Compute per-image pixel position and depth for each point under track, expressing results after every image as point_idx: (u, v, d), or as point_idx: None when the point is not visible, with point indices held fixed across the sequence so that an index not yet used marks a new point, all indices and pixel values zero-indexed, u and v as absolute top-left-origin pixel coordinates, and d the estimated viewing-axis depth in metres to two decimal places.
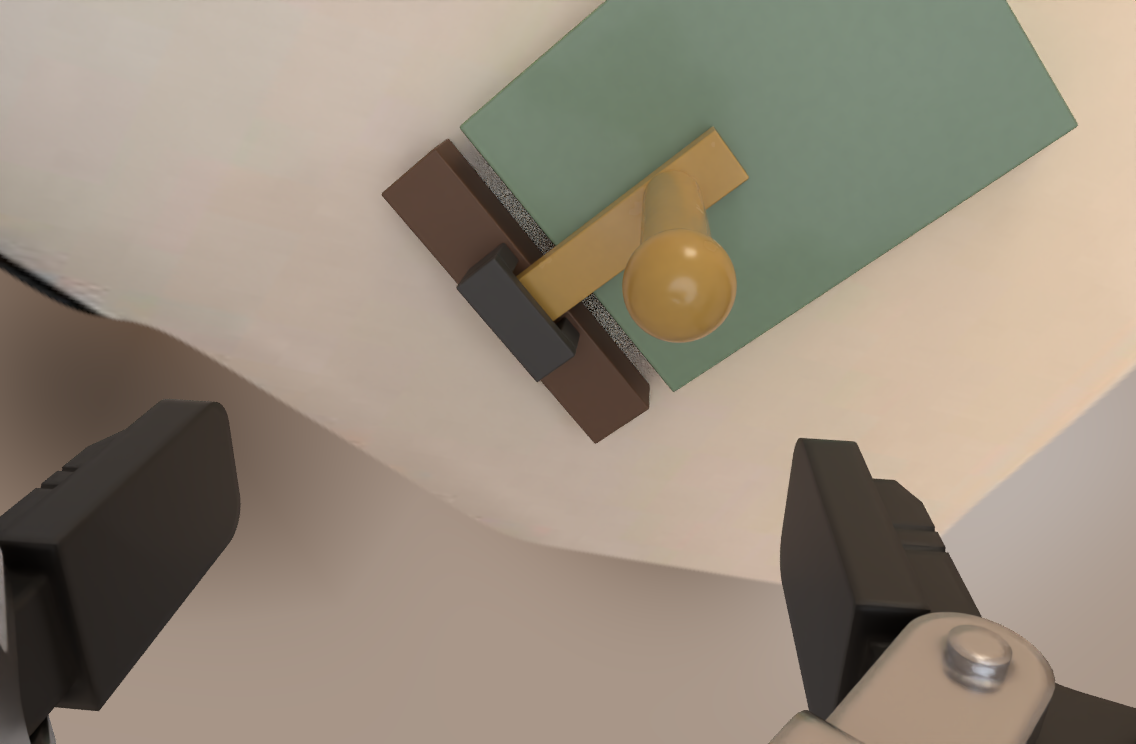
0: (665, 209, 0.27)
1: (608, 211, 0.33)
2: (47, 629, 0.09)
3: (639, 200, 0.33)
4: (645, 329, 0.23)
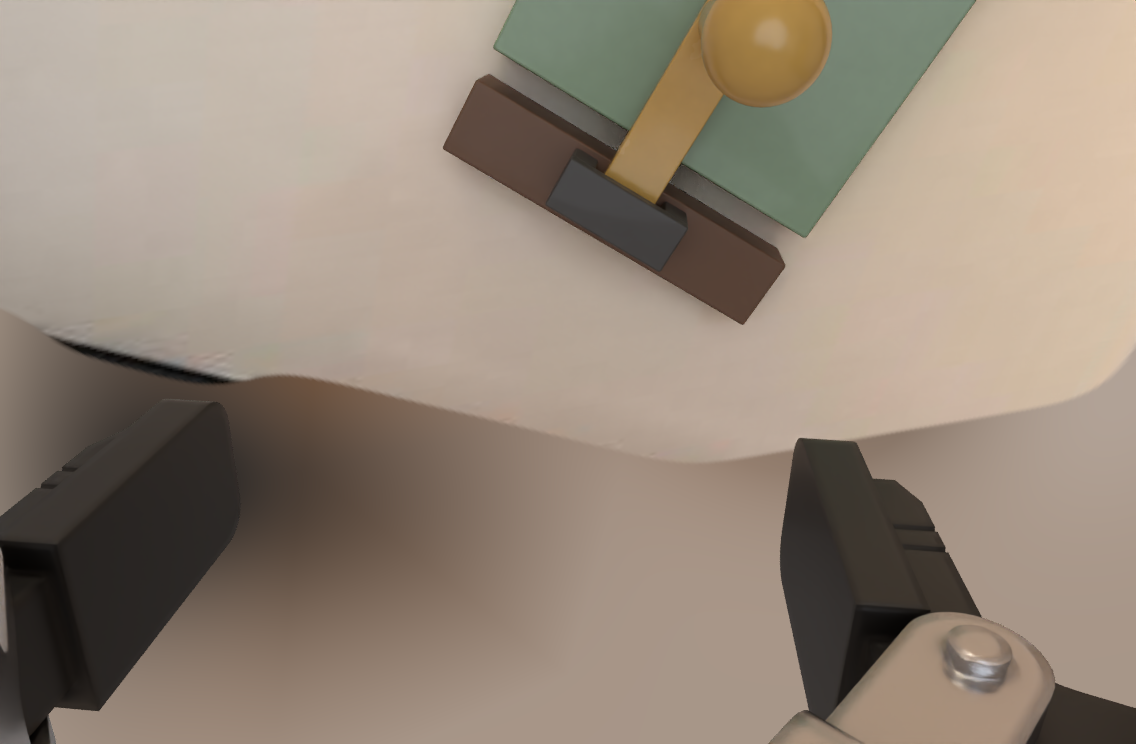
0: None
1: (669, 66, 0.31)
2: (47, 629, 0.09)
3: (696, 40, 0.30)
4: (745, 97, 0.20)
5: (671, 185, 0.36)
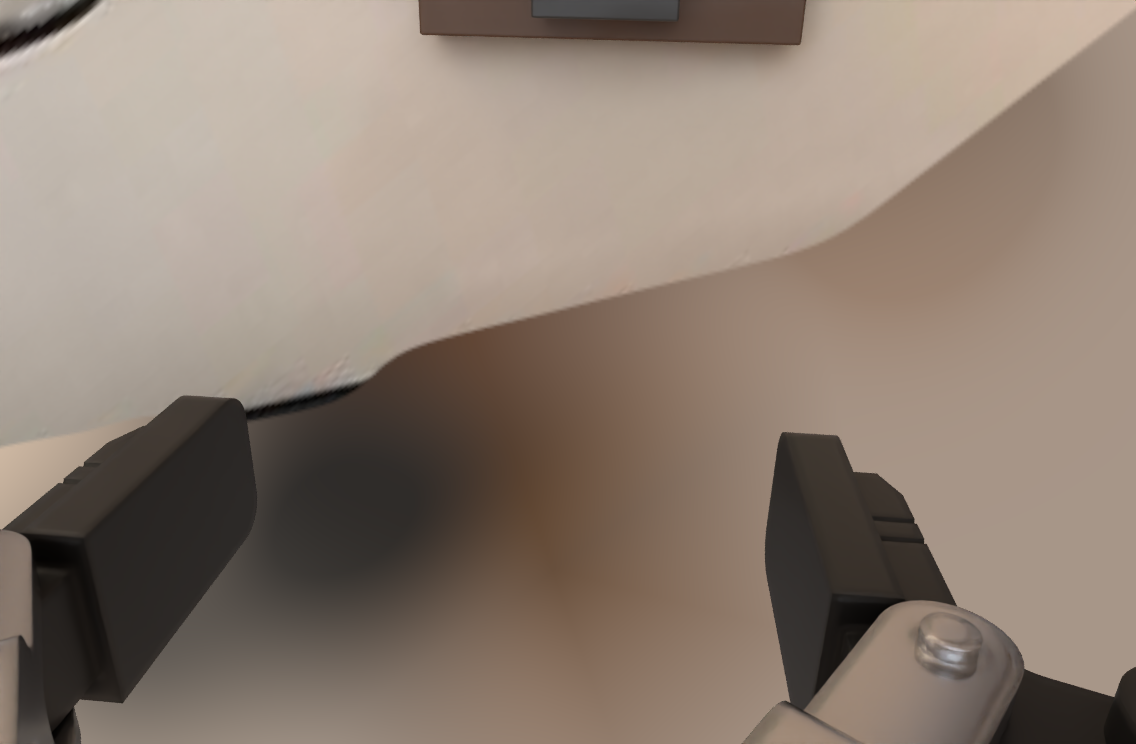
0: None
1: None
2: (73, 622, 0.09)
3: None
4: None
5: None
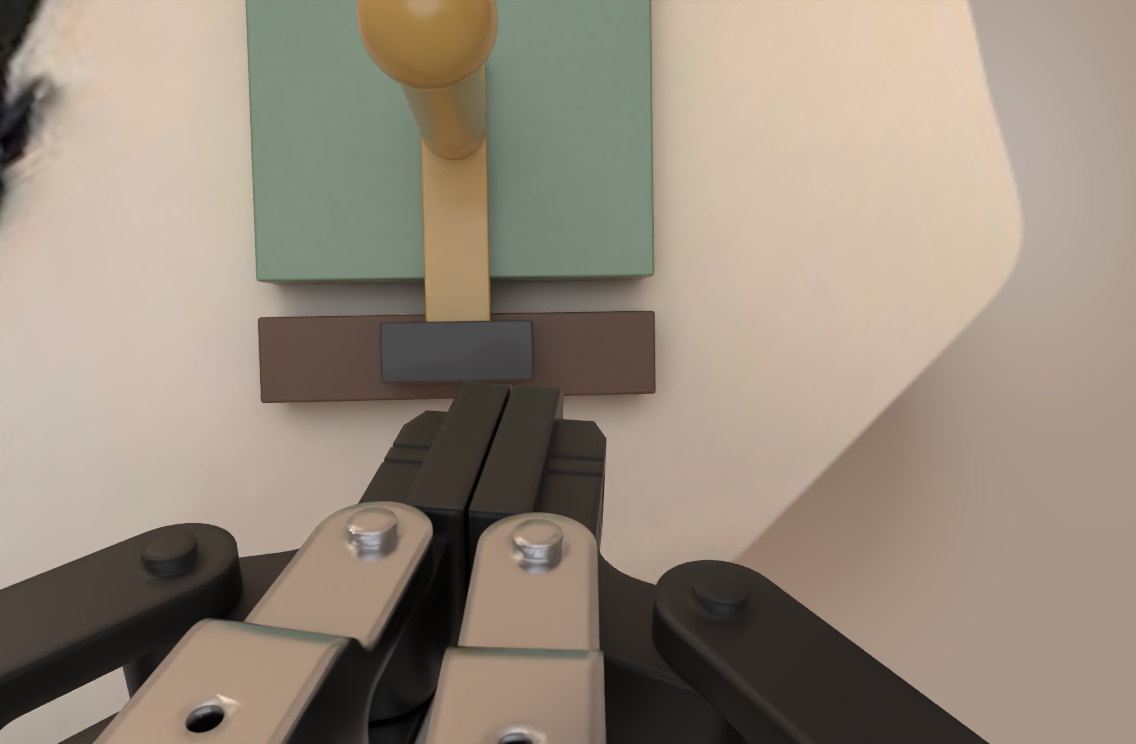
0: None
1: (422, 193, 0.29)
2: (445, 588, 0.10)
3: (431, 157, 0.29)
4: (437, 67, 0.18)
5: None
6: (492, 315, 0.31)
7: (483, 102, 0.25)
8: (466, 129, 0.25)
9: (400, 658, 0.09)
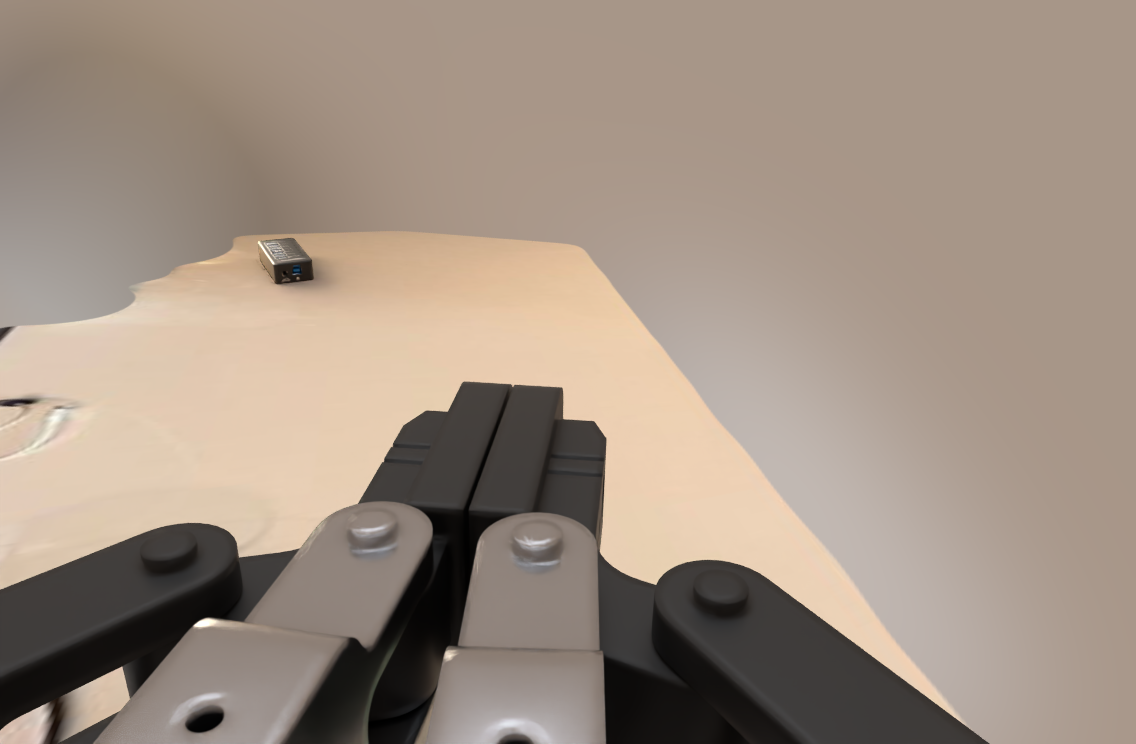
0: None
1: None
2: (445, 588, 0.10)
3: None
4: None
5: None
6: None
7: None
8: None
9: (400, 658, 0.09)
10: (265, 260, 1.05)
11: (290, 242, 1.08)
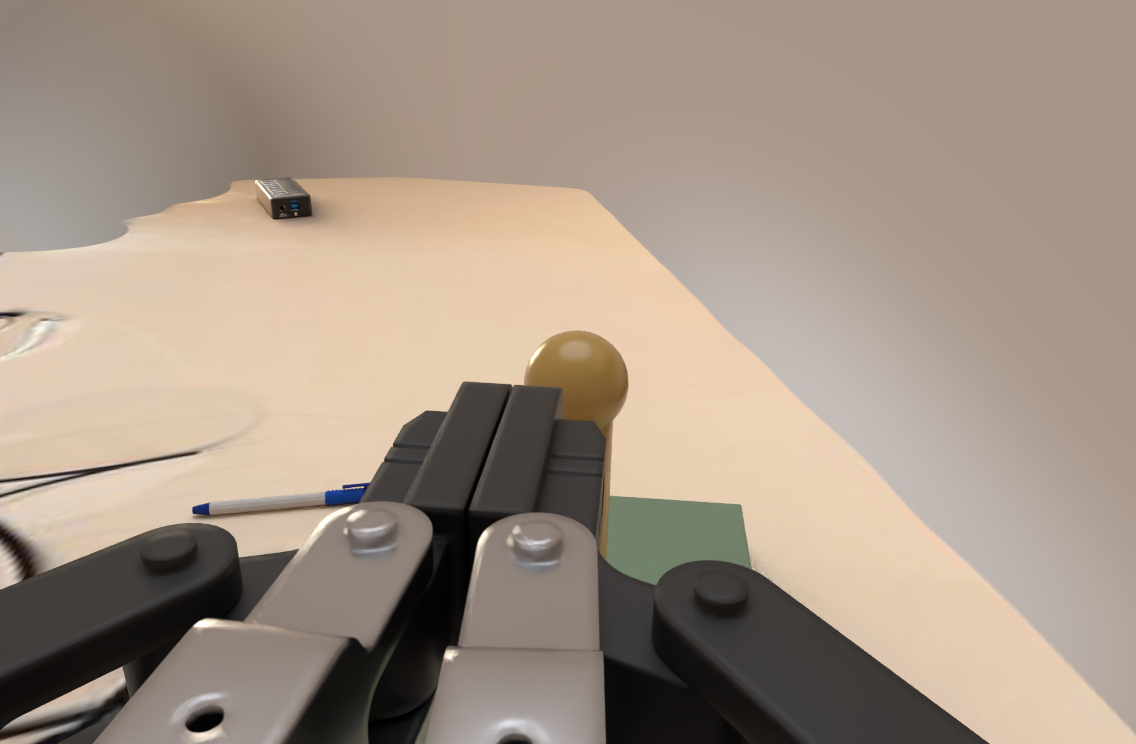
0: None
1: None
2: (445, 588, 0.10)
3: None
4: (581, 375, 0.24)
5: None
6: None
7: None
8: None
9: (400, 658, 0.09)
10: (262, 197, 1.02)
11: (288, 181, 1.05)
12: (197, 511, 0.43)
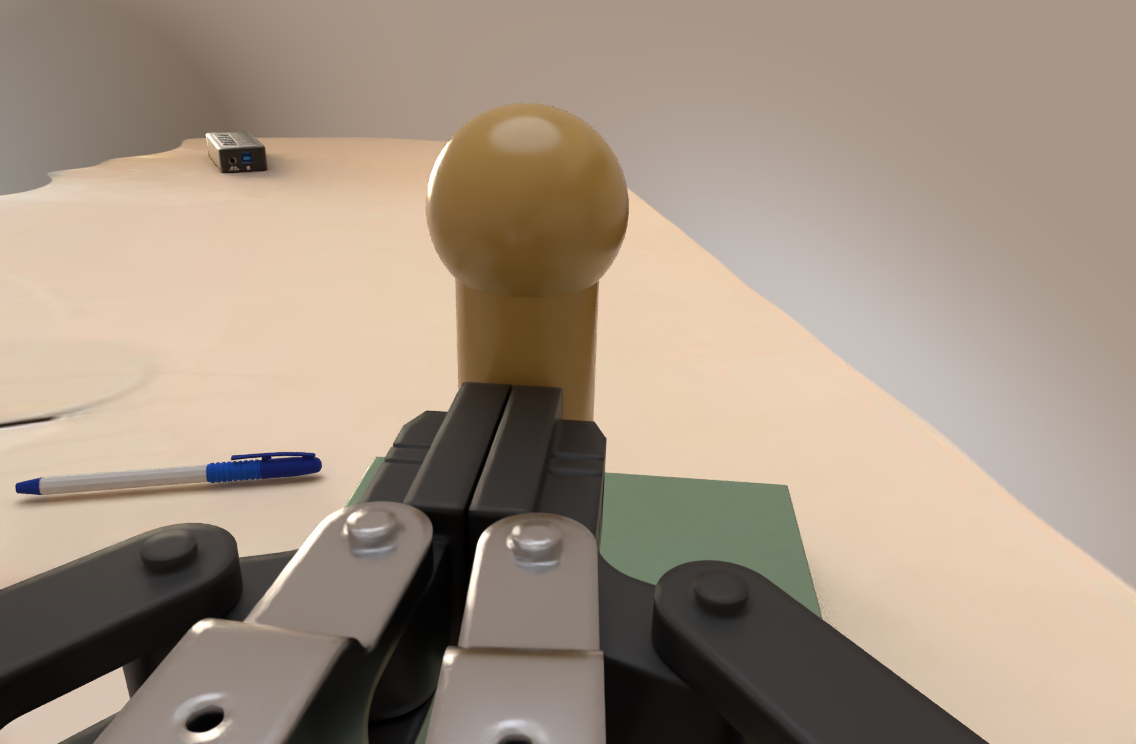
0: None
1: None
2: (445, 588, 0.10)
3: None
4: (531, 171, 0.11)
5: None
6: None
7: None
8: None
9: (400, 658, 0.09)
10: (212, 151, 0.90)
11: (243, 134, 0.93)
12: (22, 489, 0.31)
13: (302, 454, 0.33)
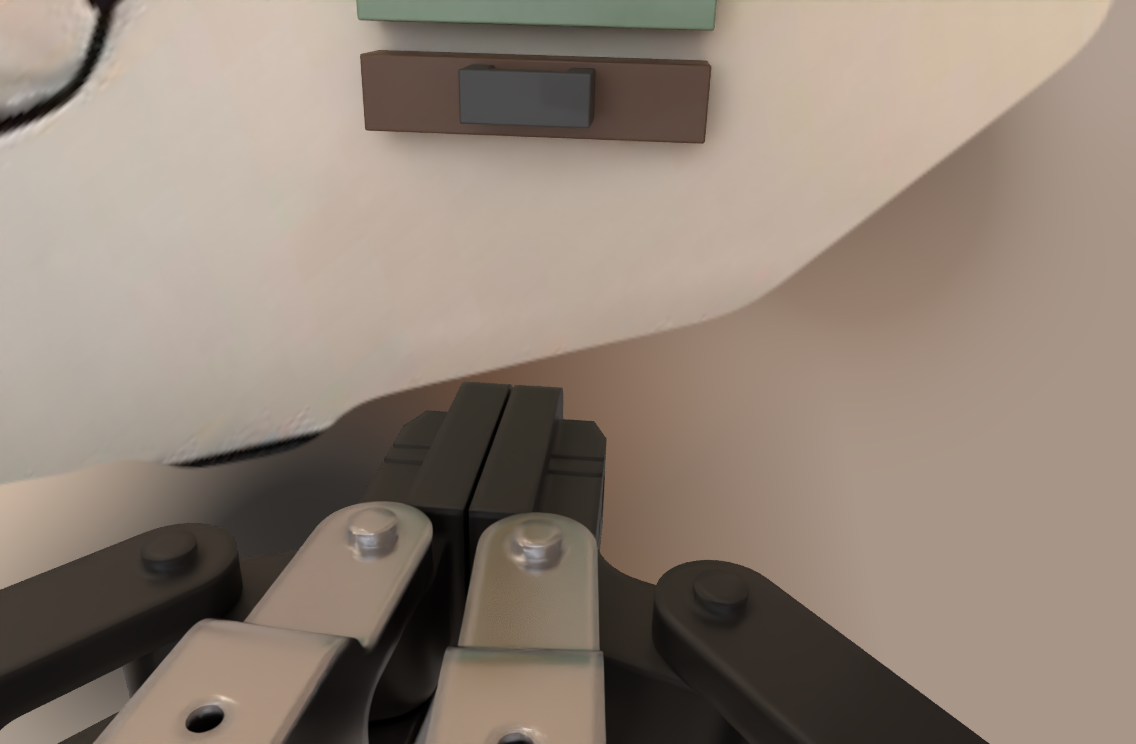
0: None
1: None
2: (445, 588, 0.10)
3: None
4: None
5: (579, 57, 0.36)
6: (561, 62, 0.34)
7: None
8: None
9: (400, 658, 0.09)
10: None
11: None
12: None
13: None
